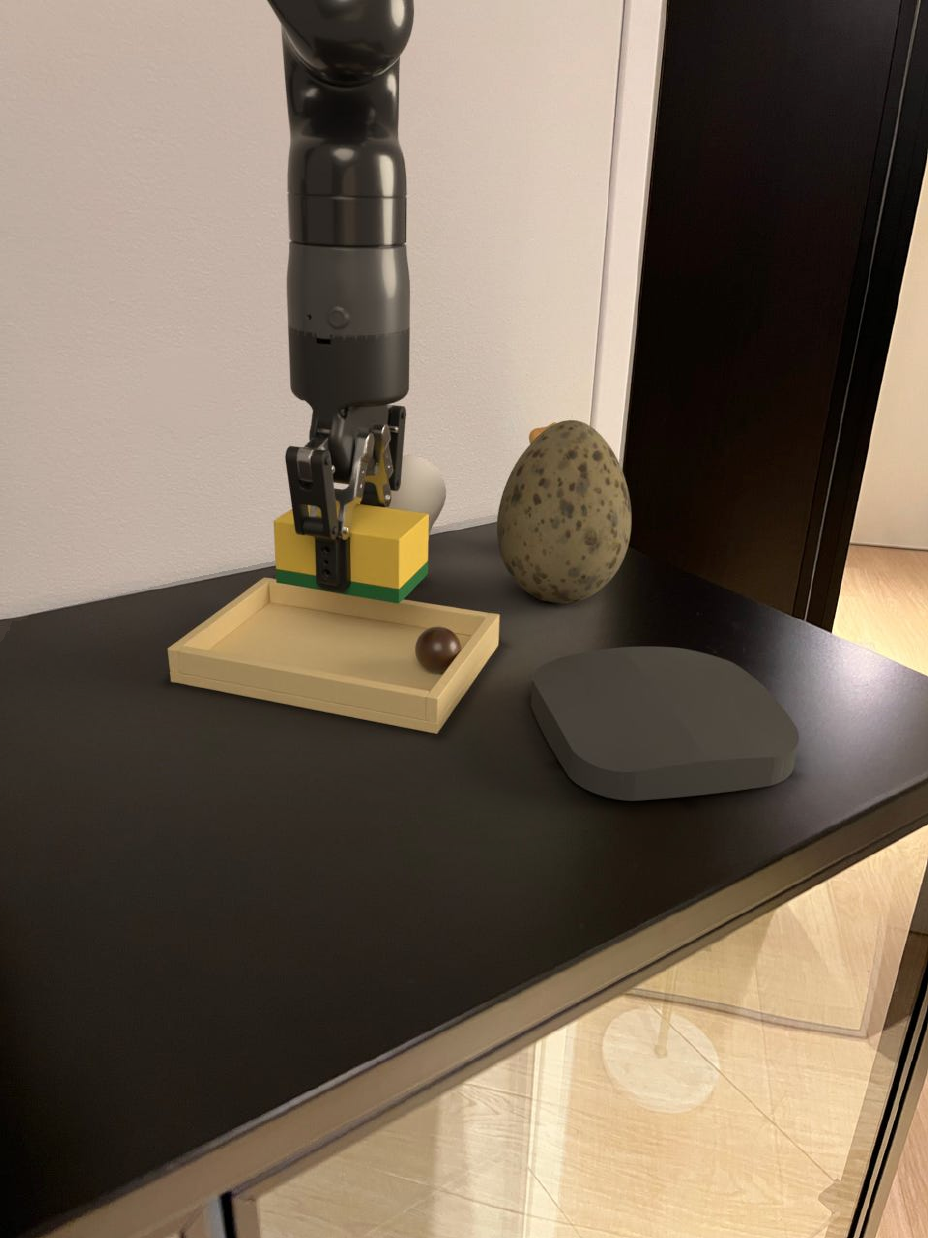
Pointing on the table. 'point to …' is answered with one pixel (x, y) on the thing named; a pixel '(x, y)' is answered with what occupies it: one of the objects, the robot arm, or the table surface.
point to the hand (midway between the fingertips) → (352, 571)
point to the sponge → (361, 553)
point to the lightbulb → (420, 489)
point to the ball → (437, 649)
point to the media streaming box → (661, 723)
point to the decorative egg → (565, 515)
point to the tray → (334, 654)
